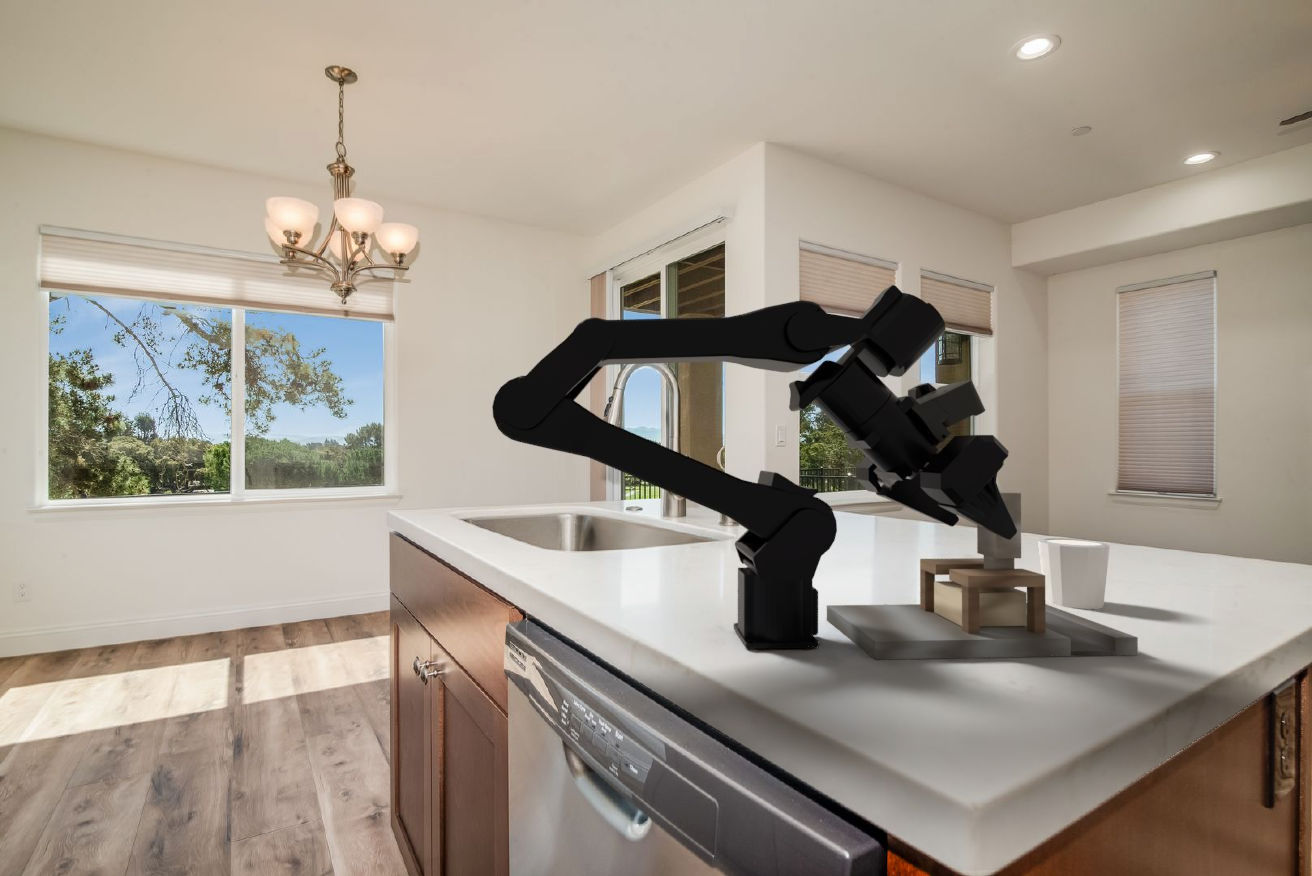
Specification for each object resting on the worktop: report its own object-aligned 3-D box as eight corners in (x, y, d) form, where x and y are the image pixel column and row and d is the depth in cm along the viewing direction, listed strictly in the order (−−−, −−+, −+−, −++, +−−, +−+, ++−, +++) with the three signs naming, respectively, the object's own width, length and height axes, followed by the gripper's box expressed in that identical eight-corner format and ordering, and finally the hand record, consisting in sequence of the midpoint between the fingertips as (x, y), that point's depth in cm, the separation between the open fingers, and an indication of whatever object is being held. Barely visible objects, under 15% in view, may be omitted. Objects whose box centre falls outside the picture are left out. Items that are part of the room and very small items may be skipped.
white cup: (1027, 600, 73) (1027, 540, 73) (1054, 593, 77) (1053, 536, 77) (1095, 613, 67) (1094, 548, 67) (1120, 604, 71) (1119, 543, 71)
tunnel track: (875, 659, 52) (875, 581, 52) (826, 620, 64) (826, 556, 64) (1137, 655, 54) (1137, 578, 54) (1042, 617, 66) (1041, 555, 66)
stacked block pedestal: (962, 626, 56) (961, 493, 56) (934, 612, 61) (933, 490, 61) (1028, 625, 57) (1028, 493, 57) (995, 611, 62) (994, 490, 62)
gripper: (983, 333, 50) (1117, 471, 50) (883, 364, 68) (981, 465, 69) (887, 432, 49) (1024, 571, 50) (812, 437, 68) (912, 538, 68)
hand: (981, 528), depth 59 cm, fingers open, 9 cm apart
